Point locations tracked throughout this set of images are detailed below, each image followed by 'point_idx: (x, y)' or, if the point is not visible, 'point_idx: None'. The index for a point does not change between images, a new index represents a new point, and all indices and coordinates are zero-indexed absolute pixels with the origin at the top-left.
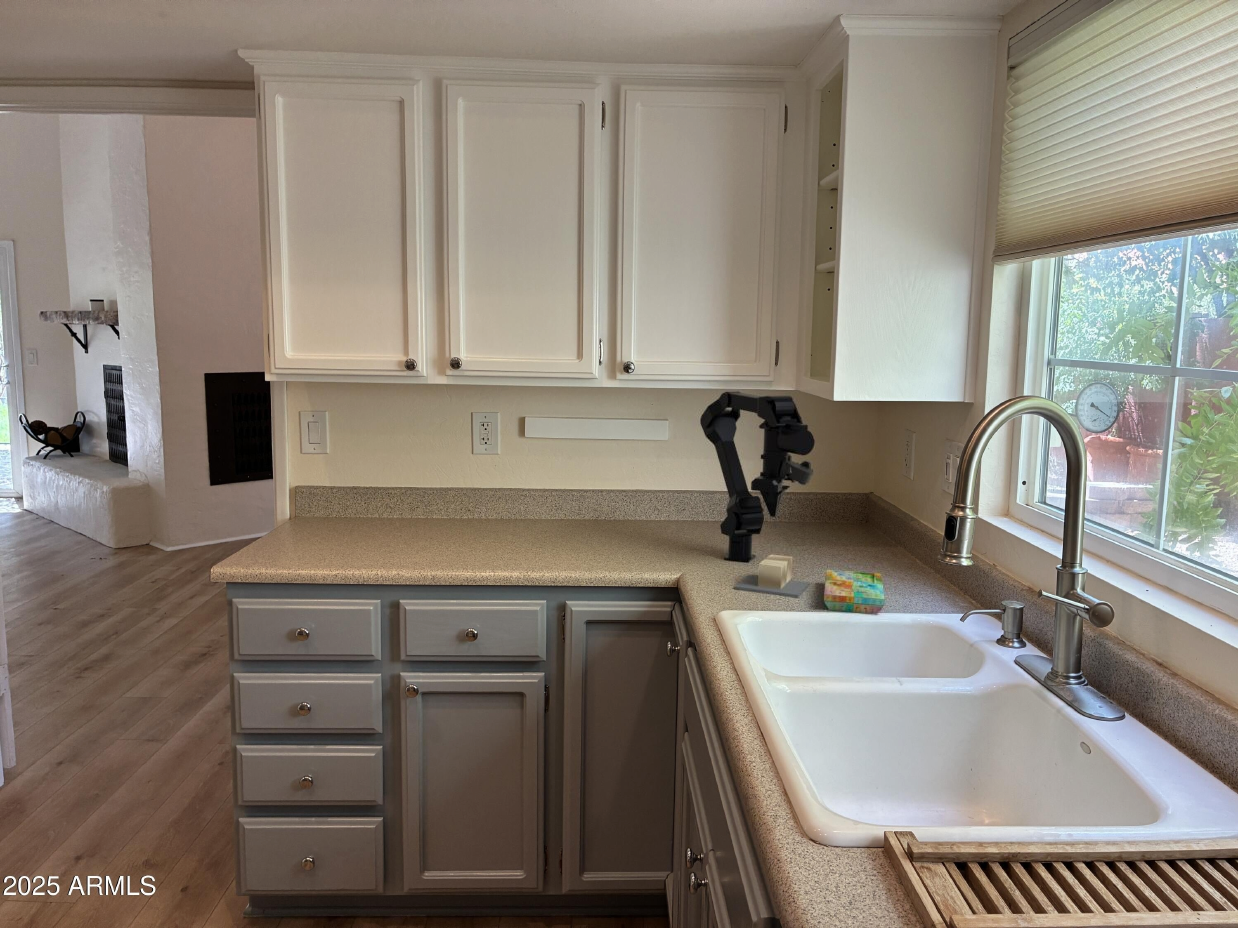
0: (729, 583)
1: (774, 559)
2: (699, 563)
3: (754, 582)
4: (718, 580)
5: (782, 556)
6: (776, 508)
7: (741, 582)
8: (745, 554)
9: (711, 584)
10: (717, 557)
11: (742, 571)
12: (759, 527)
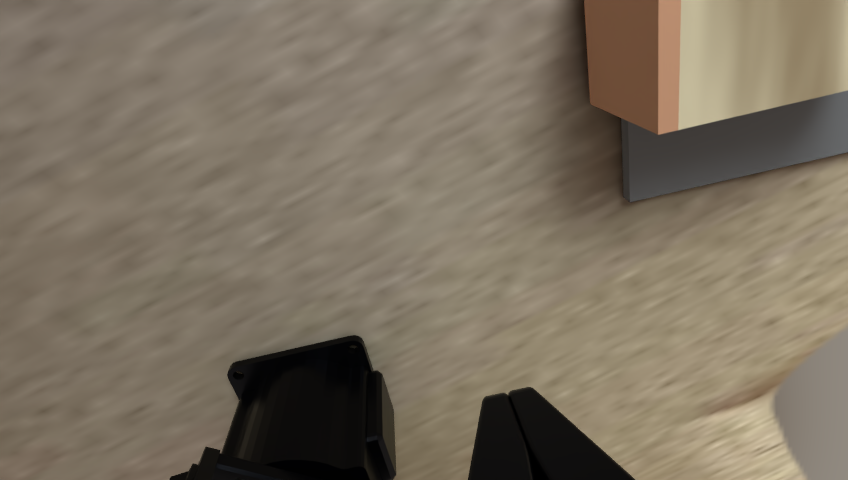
0: (775, 209)
1: (815, 26)
2: None
3: None
4: (743, 270)
5: (690, 20)
6: (615, 468)
7: (798, 154)
8: (340, 381)
9: (821, 258)
10: None
11: (531, 273)
12: (242, 478)
